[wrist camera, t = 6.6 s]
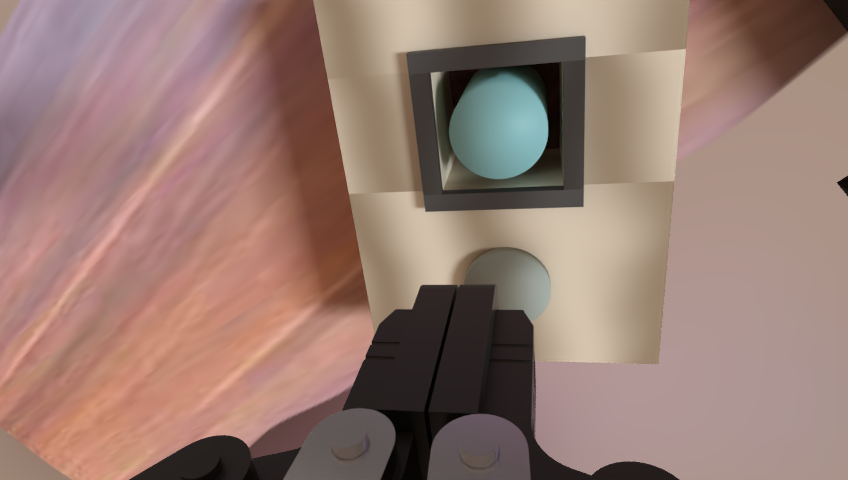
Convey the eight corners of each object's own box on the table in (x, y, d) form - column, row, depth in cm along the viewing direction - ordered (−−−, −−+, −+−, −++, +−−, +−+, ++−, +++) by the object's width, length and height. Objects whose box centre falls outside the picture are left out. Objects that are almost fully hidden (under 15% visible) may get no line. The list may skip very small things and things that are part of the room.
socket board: (666, -55, 24) (699, -55, 19) (641, 306, 32) (660, 372, 27) (348, -17, 27) (305, -8, 22) (399, 305, 35) (376, 364, 30)
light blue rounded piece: (545, 54, 27) (547, 78, 22) (547, 137, 28) (548, 177, 24) (461, 62, 27) (444, 86, 23) (467, 142, 29) (453, 181, 24)
